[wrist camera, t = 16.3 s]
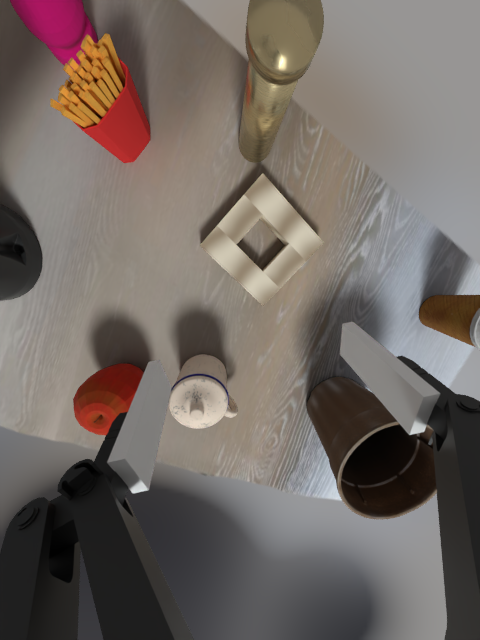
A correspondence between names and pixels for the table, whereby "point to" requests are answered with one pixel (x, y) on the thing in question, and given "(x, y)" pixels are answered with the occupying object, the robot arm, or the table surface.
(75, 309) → the table surface
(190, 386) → the teacup with lid
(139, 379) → the apple
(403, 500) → the plant pot
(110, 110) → the french fries
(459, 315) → the disposable coffee cup
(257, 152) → the gold stepped cylinder
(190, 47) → the table surface
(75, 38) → the pepper mill
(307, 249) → the socket block
